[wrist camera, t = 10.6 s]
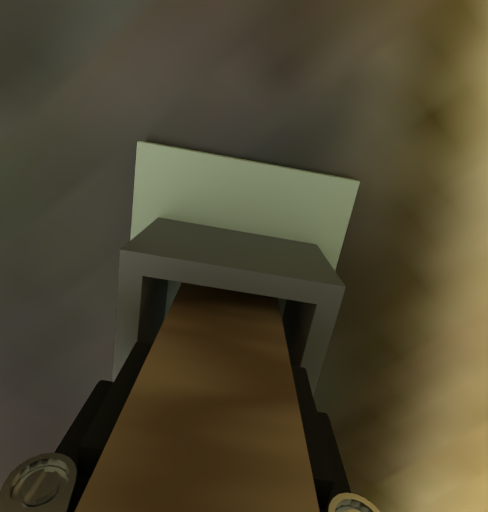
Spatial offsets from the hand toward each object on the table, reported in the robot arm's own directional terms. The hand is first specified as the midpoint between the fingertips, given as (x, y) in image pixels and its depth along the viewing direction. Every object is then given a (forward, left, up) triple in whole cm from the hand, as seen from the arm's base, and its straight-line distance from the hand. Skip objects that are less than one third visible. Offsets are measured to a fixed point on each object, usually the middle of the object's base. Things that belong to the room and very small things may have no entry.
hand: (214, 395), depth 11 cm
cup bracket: (0, +1, -8) cm, 8 cm away
